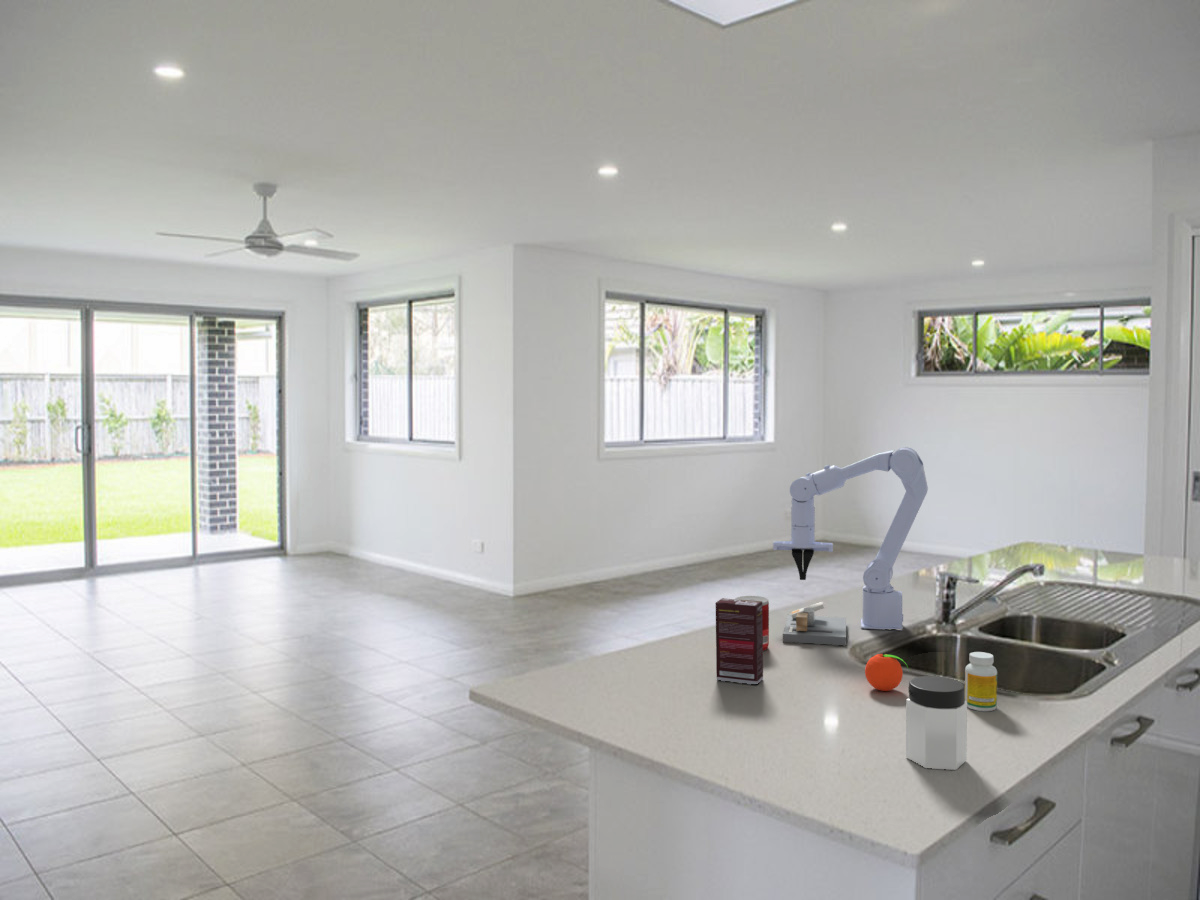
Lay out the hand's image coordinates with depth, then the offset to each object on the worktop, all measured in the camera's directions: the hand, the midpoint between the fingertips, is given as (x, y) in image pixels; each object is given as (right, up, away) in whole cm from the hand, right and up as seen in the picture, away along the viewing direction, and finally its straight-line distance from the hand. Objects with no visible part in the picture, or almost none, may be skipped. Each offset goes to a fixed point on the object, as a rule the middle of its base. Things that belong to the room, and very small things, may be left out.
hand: (802, 579), depth 229 cm
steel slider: (-1, -9, -12) cm, 15 cm away
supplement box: (-23, -14, -47) cm, 54 cm away
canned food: (-17, -12, -24) cm, 32 cm away
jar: (+1, -16, -87) cm, 89 cm away
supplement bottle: (+18, -14, -64) cm, 68 cm away
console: (0, -11, -12) cm, 17 cm away
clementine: (+4, -14, -54) cm, 56 cm away
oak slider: (-4, -9, -17) cm, 20 cm away
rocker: (0, -7, -6) cm, 9 cm away
